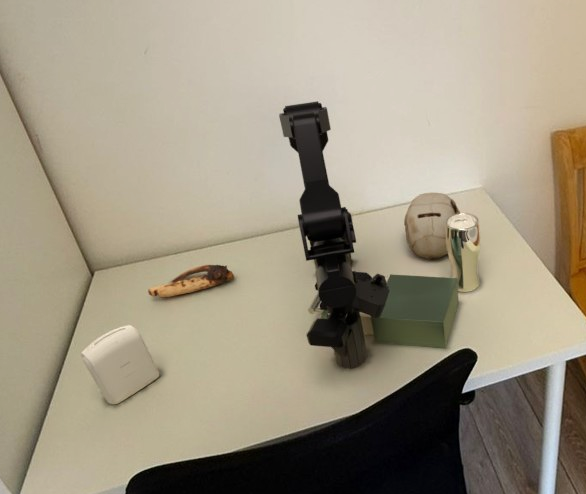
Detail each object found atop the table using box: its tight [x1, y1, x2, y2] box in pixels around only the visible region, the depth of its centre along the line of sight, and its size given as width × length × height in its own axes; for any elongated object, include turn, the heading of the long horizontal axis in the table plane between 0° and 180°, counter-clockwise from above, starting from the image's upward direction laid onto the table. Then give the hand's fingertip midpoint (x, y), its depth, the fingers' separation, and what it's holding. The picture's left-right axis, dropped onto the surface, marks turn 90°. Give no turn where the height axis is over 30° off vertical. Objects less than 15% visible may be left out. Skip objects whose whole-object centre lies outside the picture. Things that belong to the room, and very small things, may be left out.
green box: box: [371, 274, 460, 349], centre depth 122 cm, size 14×14×6 cm
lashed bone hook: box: [147, 264, 235, 298], centre depth 139 cm, size 9×5×18 cm
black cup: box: [327, 309, 369, 370], centre depth 115 cm, size 6×6×10 cm
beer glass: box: [445, 212, 481, 293], centre depth 129 cm, size 7×7×15 cm
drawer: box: [307, 280, 388, 336], centre depth 125 cm, size 17×13×5 cm
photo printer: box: [80, 324, 161, 405], centre depth 112 cm, size 10×4×12 cm, turn 140°
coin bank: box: [403, 192, 461, 260], centre depth 143 cm, size 16×17×13 cm
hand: (349, 344), depth 115 cm, fingers open, 6 cm apart
